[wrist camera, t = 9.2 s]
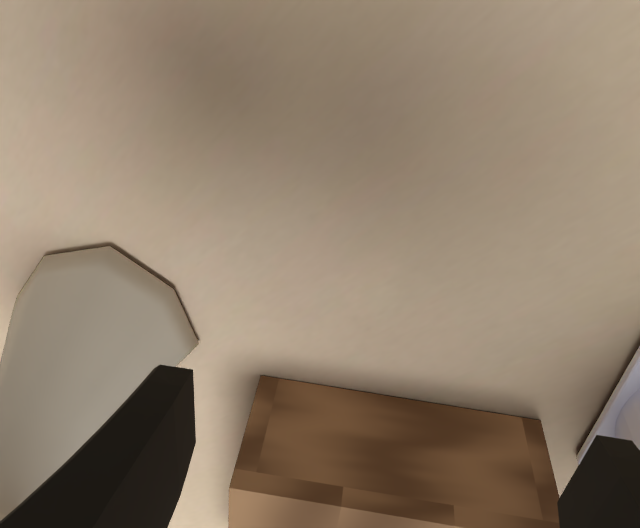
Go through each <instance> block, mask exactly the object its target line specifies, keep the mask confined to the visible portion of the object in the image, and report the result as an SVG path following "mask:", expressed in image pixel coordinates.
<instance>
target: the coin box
mask: <svg viewBox="0 0 640 528" xmlns="http://www.w3.org/2000/svg"><path fill="white" fill-rule="evenodd" d="M558 500H559V494H558V490H557V486H556V482H555V478H554V474H553V469H552V465H551V461H550V457H549V453H548V449H547V445H546V440H545V436H544V432H543V428H542V424H541V420H535V419H528V418H522V417H516V416H510V415H504V414H497V413H491V412H485V411H479V410H472V409H466V408H460V407H454V406H448V405H441V404H435V403H429V402H423V401H417V400H410V399H404V398H398V397H392V396H385V395H379V394H373V393H367V392H361V391H354V390H348V389H342V388H336V387H330V386H323V385H317V384H311V383H305V382H298V381H292V380H286V379H280V378H274V377H267V376H261V377H260V380H259V384H258V387H257V391H256V394H255V398H254V401H253V405H252V409H251V412H250V416H249V419H248V423H247V426H246V430H245V433H244V437H243V441H242V444H241V448H240V451H239V455H238V458H237V462H236V465H235V469H234V472H233V476H232V480H231V483H230V487H229V528H560V525H559V516H558V506H557V502H558Z"/></svg>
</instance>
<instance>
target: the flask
mask: <svg viewBox="0 0 640 528" xmlns="http://www.w3.org/2000/svg"><path fill="white" fill-rule="evenodd" d="M198 344H199V343H198V341H197V338H196V336H195V334H194V332H193V330H192V328H191V325H190V323H189V321H188V319H187V317H186V315H185V312H184V310H183V308H182V306H181V304H180V302H179V299H178V297H177V295H176V293H175V291H174V289H173V288H171V287H170V286H168V285H167V284H165V283H164V282H162V281H161V280H159V279H158V278H156V277H155V276H153V275H152V274H151V273H149V272H148V271H146V270H145V269H143V268H142V267H140V266H139V265H137V264H136V263H134V262H133V261H131V260H130V259H128V258H127V257H125V256H124V255H122V254H121V253H119V252H118V251H116V250H115V249H114V248H112V247H111V246H107V247H100V248H93V249H86V250H80V251H73V252H66V253H59V254H53V255H46V256H44V257H43V258H42V260H41V261H40V263H39V264H38V266H37V268H36V269H35V271H34V272H33V274H32V275H31V277H30V278H29V280H28V281H27V283H26V284H25V286H24V287H23V289H22V290H21V292H20V293H19V295H18V296H17V298H16V302H15V305H14V308H13V312H12V316H11V320H10V324H9V328H8V332H7V337H6V341H5V345H4V349H3V353H2V358H1V362H0V521H1V520H2V519H3V518H4V517H6V516H7V515H8V514H9V513H10V512H11V511H13V510H14V509H15V508H16V507H17V506H18V505H19V504H21V503H22V502H23V501H24V500H25V499H26V498H27V497H28V496H29V495H30V494H32V493H33V492H34V491H35V490H36V489H37V488H38V487H39V486H40V485H41V484H42V483H44V482H45V481H46V480H47V479H48V478H49V477H50V476H51V475H52V474H53V473H54V472H56V471H57V470H58V469H59V468H60V467H61V466H62V465H63V464H64V463H65V462H66V461H67V460H68V459H69V458H70V457H71V456H72V455H73V454H74V453H75V452H76V451H77V450H78V449H79V448H80V447H81V446H82V445H83V444H84V443H85V442H86V441H87V440H88V439H89V438H90V437H91V436H92V435H93V434H94V433H95V432H96V431H97V430H98V429H99V428H100V427H101V426H102V425H103V424H104V423H105V422H106V421H107V420H108V419H109V418H110V417H111V416H112V415H113V414H114V412H115V411H116V410H117V409H118V408H119V407H120V406H121V405H122V404H123V403H124V402H125V401H126V400H127V398H128V397H129V396H130V395H131V394H132V393H133V392H134V391H135V390H136V388H137V387H138V386H139V385H140V384H141V383H142V382H143V381H144V379H145V378H146V377H147V376H148V375H149V374H150V372H151V371H152V370H153V369H154V368H155V367H157V366H158V365H166V366H172V367H176V366H177V365H178V364H179V363H180V362H181V361H182V360H183V359H184V358H185V357H186V356H187V355H188V354H189V353H190V352H191V351H192V350H193V349H194V348H195V347H196V346H197V345H198Z"/></svg>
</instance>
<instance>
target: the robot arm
mask: <svg viewBox="0 0 640 528" xmlns="http://www.w3.org/2000/svg"><path fill="white" fill-rule="evenodd" d="M195 443H196V437H195V411H194V385H193V370H191V369H185V368H179V367H172V366H166V365H158V366H157V367H155V368H154V369H153V370H152V371H151V372H150V374H149V375H148V376H147V377H146V378H145V379H144V381H143V382H142V383H141V384H140V385H139V386H138V387H137V388H136V390H135V391H134V392H133V393H132V394H131V395H130V396H129V397H128V398H127V400H126V401H125V402H124V403H123V404H122V405H121V406H120V407H119V408H118V409H117V410H116V411H115V412H114V414H113V415H112V416H111V417H110V418H109V419H108V420H107V421H106V422H105V423H104V424H103V425H102V426H101V427H100V428H99V429H98V430H97V431H96V432H95V433H94V434H93V435H92V436H91V437H90V438H89V439H88V440H87V441H86V442H85V443H84V444H83V445H82V446H81V447H80V448H79V449H78V450H77V451H76V452H75V453H74V454H73V455H72V456H71V457H70V458H69V459H68V460H67V461H66V462H65V463H64V464H63V465H62V466H61V467H60V468H59V469H58V470H57V471H56V472H54V473H53V474H52V475H51V476H50V477H49V478H48V479H47V480H46V481H45V482H44V483H42V484H41V485H40V486H39V487H38V488H37V489H36V490H35V491H34V492H33V493H32V494H30V495H29V496H28V497H27V498H26V499H25V500H24V501H23V502H22V503H21V504H19V505H18V506H17V507H16V508H15V509H14V510H13V511H11V512H10V513H9V514H8V515H7V516H6V517H4V518H3V519H2V520H1V521H0V528H167V527H168V525H169V522H170V520H171V517H172V515H173V512H174V510H175V507H176V505H177V502H178V500H179V497H180V495H181V491H182V488H183V485H184V481H185V478H186V475H187V471H188V468H189V464H190V461H191V457H192V454H193V450H194V447H195ZM577 461H578V465H579V466H578V468H577V469H576V471H575V473H574V474H573V476H572V478H571V480H570V481H569V483H568V485H567V486H566V488H565V490H564V492H563V493H562V495H561V497H560V498H559V500H558V502H557V506H558V516H559V525H560V528H640V346H639V348H638V350H637V351H636V353H635V355H634V357H633V358H632V360H631V362H630V364H629V365H628V367H627V369H626V371H625V372H624V374H623V376H622V378H621V379H620V381H619V383H618V385H617V386H616V388H615V390H614V392H613V393H612V395H611V397H610V399H609V400H608V402H607V404H606V406H605V407H604V409H603V411H602V413H601V414H600V416H599V418H598V420H597V422H596V423H595V425H594V427H593V429H592V430H591V432H590V434H589V436H588V437H587V439H586V441H585V443H584V444H583V446H582V448H581V450H580V451H579V453H578V455H577Z"/></svg>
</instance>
